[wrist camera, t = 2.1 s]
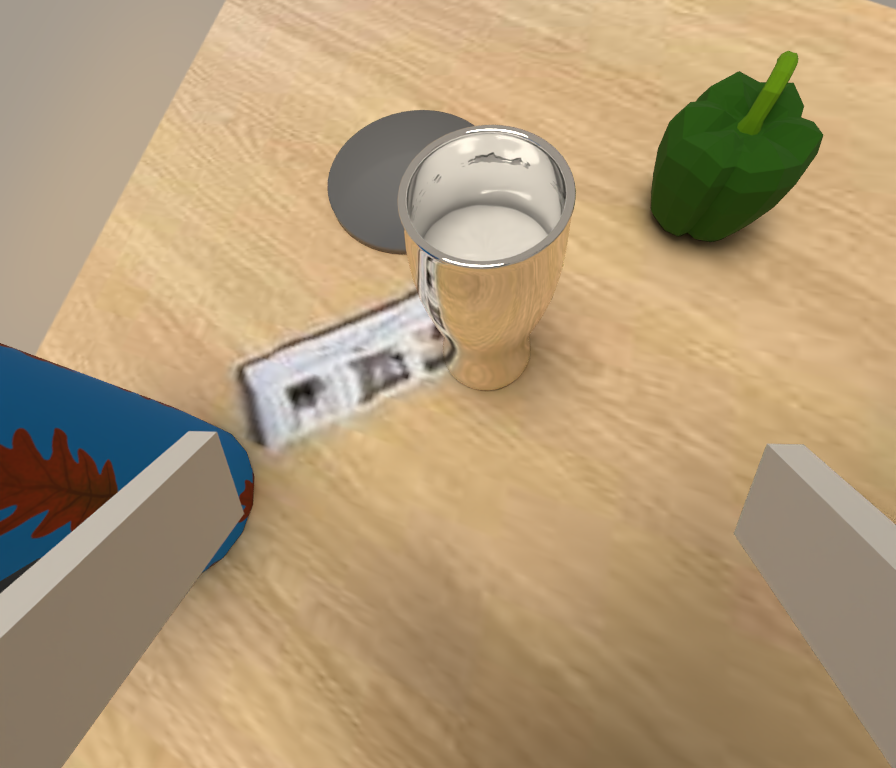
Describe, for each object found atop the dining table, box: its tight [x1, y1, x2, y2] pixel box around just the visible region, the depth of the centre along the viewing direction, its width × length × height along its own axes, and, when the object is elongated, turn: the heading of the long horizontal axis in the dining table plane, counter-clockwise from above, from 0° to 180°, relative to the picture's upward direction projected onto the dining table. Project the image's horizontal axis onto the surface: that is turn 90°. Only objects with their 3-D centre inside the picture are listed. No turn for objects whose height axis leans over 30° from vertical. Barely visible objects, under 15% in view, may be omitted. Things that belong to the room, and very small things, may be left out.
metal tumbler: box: [398, 125, 576, 391], centre depth 23 cm, size 7×7×15 cm
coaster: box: [328, 110, 474, 254], centre depth 34 cm, size 14×14×1 cm
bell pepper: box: [651, 51, 823, 242], centre depth 27 cm, size 8×8×10 cm
